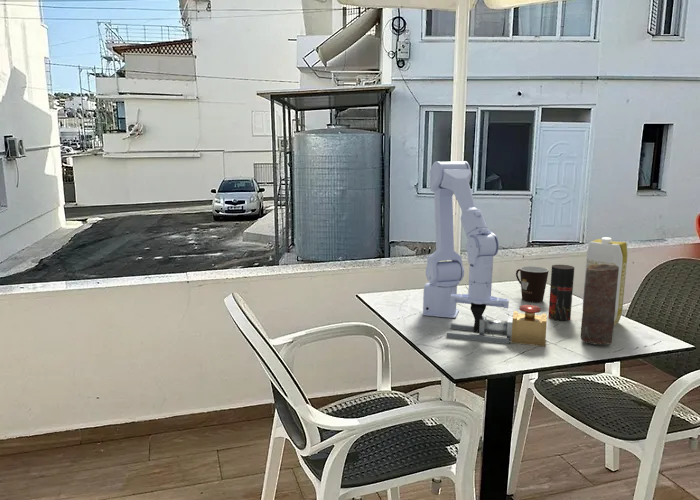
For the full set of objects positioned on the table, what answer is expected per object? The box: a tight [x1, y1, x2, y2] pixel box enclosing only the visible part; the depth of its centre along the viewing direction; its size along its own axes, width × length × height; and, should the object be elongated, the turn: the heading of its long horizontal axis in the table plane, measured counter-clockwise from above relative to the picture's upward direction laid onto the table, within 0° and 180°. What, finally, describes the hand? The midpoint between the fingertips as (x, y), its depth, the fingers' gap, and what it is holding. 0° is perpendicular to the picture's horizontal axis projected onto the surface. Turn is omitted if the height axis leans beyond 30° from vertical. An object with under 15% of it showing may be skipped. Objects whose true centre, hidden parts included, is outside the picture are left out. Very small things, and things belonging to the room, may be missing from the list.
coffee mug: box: [515, 265, 550, 304], centre depth 180 cm, size 12×9×10 cm
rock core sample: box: [580, 264, 619, 346], centre depth 139 cm, size 8×7×20 cm
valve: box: [510, 304, 548, 347], centre depth 142 cm, size 8×6×9 cm
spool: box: [478, 313, 513, 343], centre depth 145 cm, size 8×5×5 cm, turn 72°
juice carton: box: [582, 236, 628, 326], centre depth 155 cm, size 9×8×24 cm
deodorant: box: [547, 264, 575, 322], centre depth 160 cm, size 6×6×15 cm
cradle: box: [446, 322, 510, 345], centre depth 147 cm, size 16×8×1 cm, turn 72°
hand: (477, 331), depth 147 cm, fingers closed, pressing on spool
